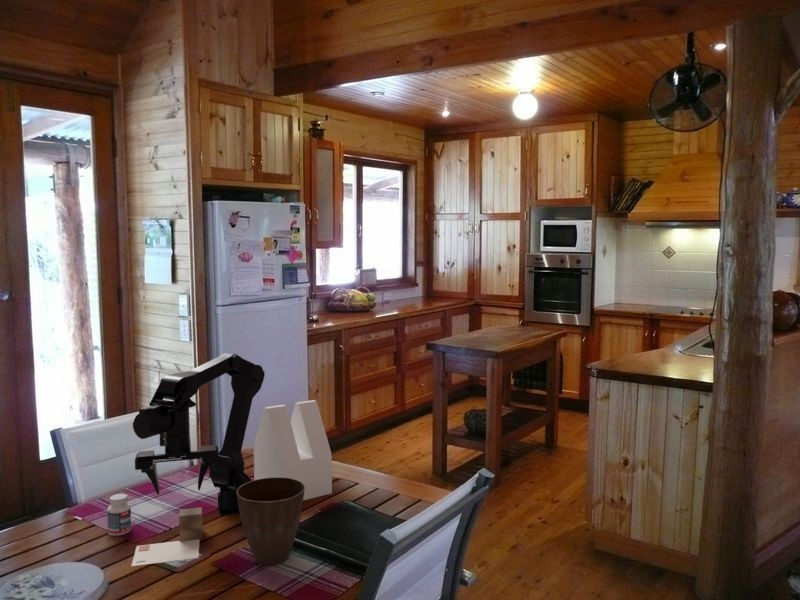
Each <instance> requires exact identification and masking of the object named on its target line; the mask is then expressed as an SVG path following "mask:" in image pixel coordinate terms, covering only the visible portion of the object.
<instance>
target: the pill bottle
mask: <svg viewBox="0 0 800 600" xmlns="http://www.w3.org/2000/svg"><path fill="white" fill-rule="evenodd" d="M128 496H129V495H128V494H125V493H116V494H114V495H111V496H110V497H109V506H108V507H107V510H106V512H107V533H108V535H110V536H122V535H125V534H127V533H130V531H131V530H132V510H131V504H130V503H129V502H128V498H129V497H128Z"/></svg>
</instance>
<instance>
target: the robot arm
mask: <svg viewBox="0 0 800 600" xmlns="http://www.w3.org/2000/svg"><path fill="white" fill-rule="evenodd" d="M225 374H227V376H230V378H231V379H230V385H231V388H232V391H233V392H232V393H233V397H232V403H231V407H230V412H229V417H228V421H227V424H226V430H225V434H224V437H223V438H224V439H223V443H222V447H221V450H220V451H219V447H218V445H216V444H210V445H201V447H200V448H201V449H200V450H191V449H192V448H191V445H192V444H191V434H190V433H191V429H190V408H193V407H196V406H197V403H196V402H195V401H193V400H192V399H191V398H192V397H194V396H195V395H196V394H197V393H198V391H199V390H200V388H201V387H202V386H204V385H206V384H208V383H209V382H211V381H214V380H215V379H217V378H219V377H221V376H223V375H225ZM265 374H266V373H265V370H264V368H263V367H262V365H260V364H255V363H253V362H251V361H249V360H247V359H245V358H243V357H241V356H240V355H238V353H237V354H236V353H228V352H227V353H226V352H224V353H221V354H219V356H218V357H216V358H215V357H214V358H213V359H211V360H209V361H207V362H205V363H203V364H201V365H199V366H196V367H195V368H192V369H190V370H188V371H181V372H175V373H170V374H167V375H164V376H162V377H161V379H160V382H159V383H158V386H157V389H156V390H155V391H154V394H153V395H152V398H151V400H150V401H149V404H148V405H149V406H147V407H140V408H138V414H137V415H136V416H135V418H134V419H133V422H132V428H133V432H134V434H135V435H136V437H138V438H139V439H141V440H145V439H148V438H152V437H155V436H158V435H159V447H164V453H157V454H155V450H154V449H151V450H142V451H138V452H137V453H136V456H135V459H134V470H136V471H141V473H143V474H146V476H147V477H148V478H149V480H150V482H151V483H152V486H153V488H154V491H155V493H156V494H157V495H158V496H159V495H160V483H159V476H158V471H157V470H158V469H157V464H158V463H167V462H178V461H180V462H181V461H190V460H200V461H199V471H198V480H197V490H198V491H201V488H202V484H203V481H204V478H205V476H206V473H207V472H208V471H209V472H208V473H209V474H208V476H209V477H208V478H210V480H211V482H212V484H213V487H214V488H219V491H218V492H217V511H219V515H220V516H226V515H236V514H240V511H239V505H238V499H237V493H236V492H237V489H238V488H239V487H240V486H242V485H243V484H245V483H247V482H250V481H252V478H250V476H248V474H247V473H246V472H244V470H245V460H244V458H243V455H242V449H243V444H244V440H245V436H246V435H245V434H246V430H247V427H248V426H247V425H248V421H249V416H250V411H251V407H252V402H253V399H254V397H255V396H256V395H257V394H258V393H259V391H260V390H261V389H262V386H263V383H264V380H265Z"/></svg>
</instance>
